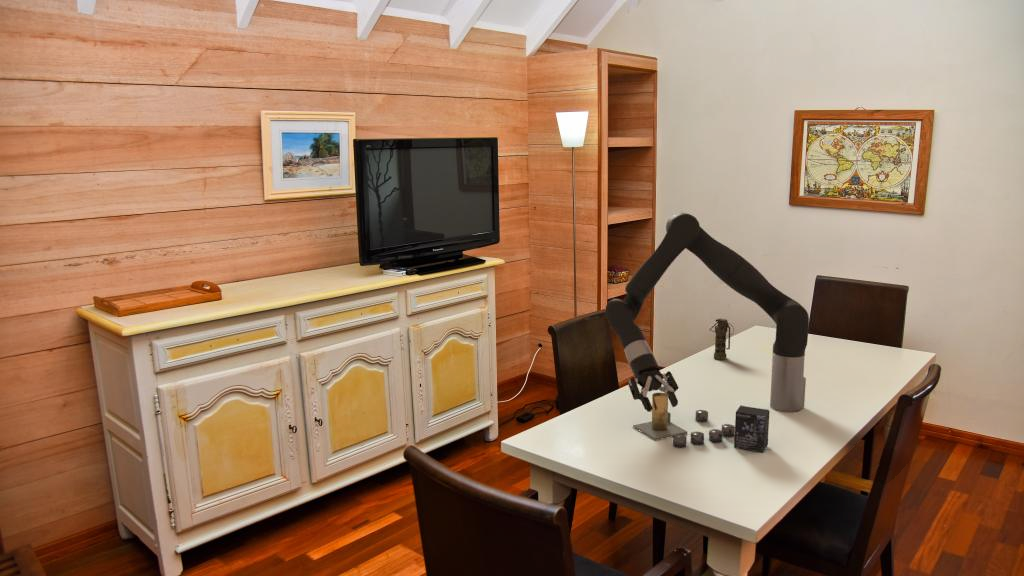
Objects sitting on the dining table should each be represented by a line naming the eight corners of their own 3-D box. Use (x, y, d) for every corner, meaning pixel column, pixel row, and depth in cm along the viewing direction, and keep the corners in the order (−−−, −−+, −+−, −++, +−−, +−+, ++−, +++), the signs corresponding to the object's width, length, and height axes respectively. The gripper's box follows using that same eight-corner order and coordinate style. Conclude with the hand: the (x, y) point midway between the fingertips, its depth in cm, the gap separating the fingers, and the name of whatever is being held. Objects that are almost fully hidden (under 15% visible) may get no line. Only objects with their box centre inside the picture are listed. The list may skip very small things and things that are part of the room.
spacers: (694, 412, 237) (694, 404, 236) (742, 437, 217) (742, 429, 217) (637, 424, 229) (637, 416, 228) (681, 451, 209) (681, 442, 209)
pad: (664, 420, 231) (664, 418, 231) (687, 433, 221) (687, 431, 221) (633, 427, 227) (633, 425, 226) (654, 440, 217) (654, 438, 217)
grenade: (707, 359, 290) (708, 320, 287) (714, 355, 295) (715, 317, 292) (729, 363, 285) (730, 323, 282) (736, 359, 289) (737, 320, 286)
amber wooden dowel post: (661, 424, 227) (662, 391, 224) (670, 429, 223) (671, 396, 221) (648, 426, 225) (649, 394, 223) (657, 432, 221) (658, 398, 219)
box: (733, 448, 210) (735, 411, 208) (738, 440, 215) (740, 404, 213) (763, 453, 207) (765, 416, 204) (768, 446, 211) (769, 409, 209)
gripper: (625, 356, 223) (647, 406, 215) (666, 349, 229) (689, 398, 221) (615, 368, 229) (636, 418, 221) (656, 361, 235) (678, 410, 227)
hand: (663, 408), depth 221 cm, fingers open, 8 cm apart
